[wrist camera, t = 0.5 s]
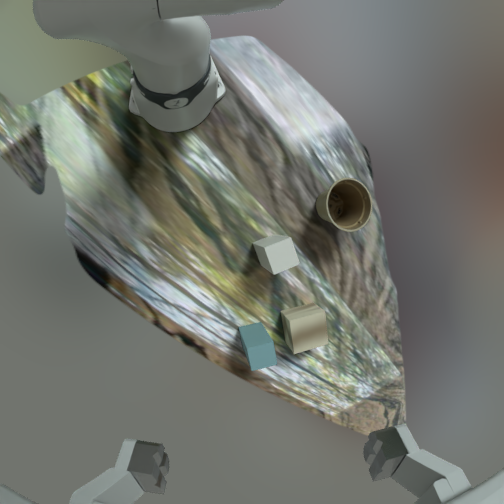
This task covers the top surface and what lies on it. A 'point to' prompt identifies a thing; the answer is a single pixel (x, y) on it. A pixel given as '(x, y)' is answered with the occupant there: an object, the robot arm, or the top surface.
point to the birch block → (304, 327)
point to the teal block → (257, 346)
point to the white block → (276, 253)
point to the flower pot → (345, 205)
